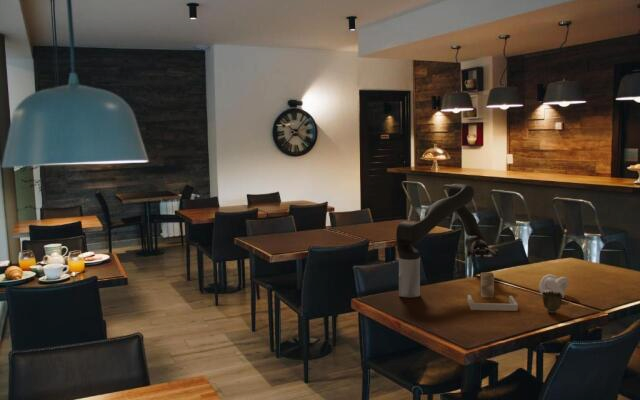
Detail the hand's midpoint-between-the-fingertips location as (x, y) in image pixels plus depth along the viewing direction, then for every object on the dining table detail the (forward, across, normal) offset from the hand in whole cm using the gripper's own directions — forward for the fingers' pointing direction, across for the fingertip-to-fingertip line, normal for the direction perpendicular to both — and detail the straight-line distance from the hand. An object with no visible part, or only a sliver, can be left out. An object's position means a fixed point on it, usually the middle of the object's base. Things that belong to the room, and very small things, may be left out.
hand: (484, 255), depth 264 cm
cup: (+34, +22, +16) cm, 44 cm away
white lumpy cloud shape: (+9, +28, +16) cm, 33 cm away
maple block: (+11, 0, +16) cm, 19 cm away
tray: (+26, 0, +15) cm, 30 cm away
